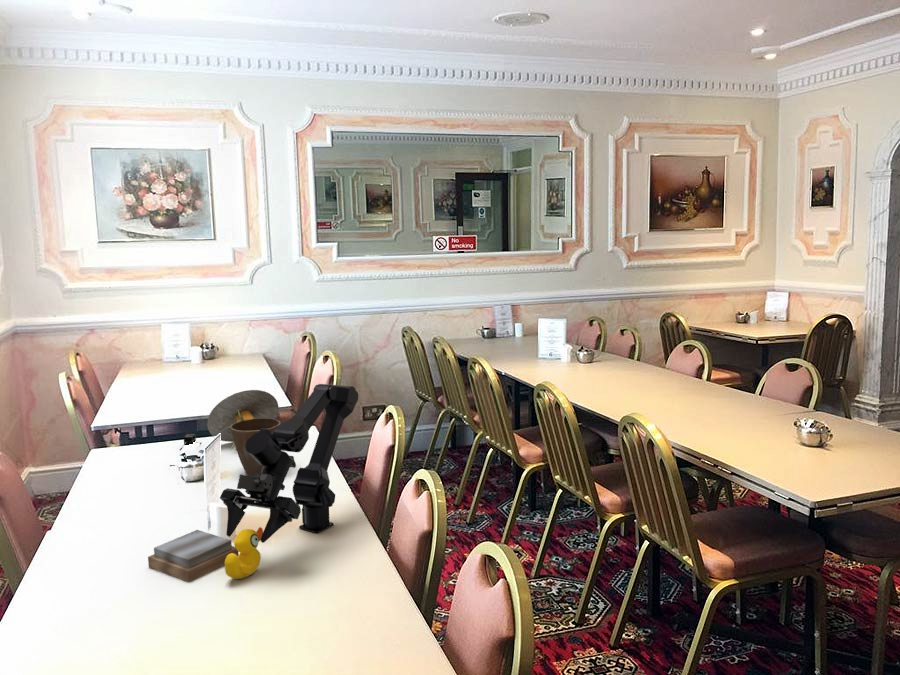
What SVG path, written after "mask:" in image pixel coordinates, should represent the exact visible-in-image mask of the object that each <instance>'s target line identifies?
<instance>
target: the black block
mask: <svg viewBox="0 0 900 675" xmlns="http://www.w3.org/2000/svg"><path fill="white" fill-rule="evenodd" d="M196 440H197V438H196V434H195V433H190V434H189V433H186V435H184V437H183V446H184V445H189V444H193V442H195V441H196ZM196 442H197V441H196Z"/></svg>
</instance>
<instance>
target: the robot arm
mask: <svg viewBox="0 0 900 675" xmlns="http://www.w3.org/2000/svg"><path fill="white" fill-rule="evenodd" d="M358 401H359V392H358V391H357V389H356V388H355V387H354V386H351V385H339V384H326V383H318V384H316V385H315V386H314V387H313V391H312V393H311V394H310V395H309V396H308V397H307V398H306V400H305V401H304V403H302V405H301V406H300V408H299V409H298V410H297V412H295V414H294V416H292V417H291V418H289V419H286V420H285V421H282V422H280V425H279V426H278V427H277V428H276V429H275V430H274V432H273V433H271V432H270V431H269V430H268V429H262V428H261V429H260V431H259V433H256V434H254V435H253V436H251V437H250V438H249V439H248V440H247V442H246V446H245V448H246V451H247V452H248V453H249V454H250V455H251V456H252V457H253V458H254V459H255V460H256V461H257V462H258V463H259V464H260V465H262V466H263V468H262V470H261V473H256V474H255V475H254V476H248V475H247V474H239V477H238V482H237V487H236V489H234V488H225V489H223V490H222V492H221V494H220V496H219V499H220V500H221V501H222V503H223V505H224V506H226V509H227V524H226V536H227V537H229V538H230V537H231V536H232V535H233V534H234V532H235V531H236V529H237V527H238V526H239V524H240V523H241V522H242V521H241V520H242V519H243V517H244V516H245V514H246V512H245V510H246V509H247V508H248V506H249V507H257V508H262V509H268V510H269V518H268V521H267V522H266V525H265V528H263V534H262V537H261V540H260V542H261V543H264V544H265V542H267V540H268V539H270V538H271V537H272V536H273V535H274V534H275V533H276V532H278V531H279V530H280V529H281V528H282V527H283V526H285V525H286V524H287V523H292V522H293V520H299V517H300V515H301V518H302V524H301V525H299V526H298V528H299V529H301V530H304V531H307V532H311V533H315V534H319V533H321V532H324V531H325V530H327V529H330V528H331V527H333V526H334V525H335V522H332V521H331V520H330V508H331V507H333V505H334V504H335V501H336V493H334V491H333V490H332V489H331V488H330V484H331V480H330V477H329V472H328V471H329V470H328V469H329V467H330V462H331V460H332V457H333V454H334V451H335V447H336V445H337V441H338V438H339V435H340V433H341V430H342V426H343V424H344V420H345V419H346V418H348V417H349V416H350V415H351V414H352V413H353V411H354V409H355V408H356V405H357V403H358ZM324 411H325V415H324V418H323V421H322V424H321V426H320V430H319V433H318V436H317V439H316V442H315V445H314V448H313V450H312V454H311V457H310V460H309V462H308V464H307V465H306V466H305V467H304V468H303V467H299V469H298V470H297V472H296V476H295V479H294V480H293V486H292V493H293V497H294V499H293V498H292V497H289V496H288V497H287V496H281V495H279V494H280V491H284V490H285V488H286V486H285V484H284V483H285V480H286V477H287V475H288V472H289V471H290V468H292V469H293V468H296V467H297V464H296V461H295V457H294V456H293V455H289V454H288V453H287V452H290V453H300V452H301V451H303V449H304V448H305V446H306V445H307V443H308V440H309V439H310V434H309V431H310V429H311V428H312V427H313V425H314V423H316V421H317V419H319V417H320V415H321V414H322V413H323V412H324ZM241 490H244V491H245V493H246V494H247V495H249V496H247V495H245V494H244V493H243V492H242V491H241ZM301 506H302V508H301Z"/></svg>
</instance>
